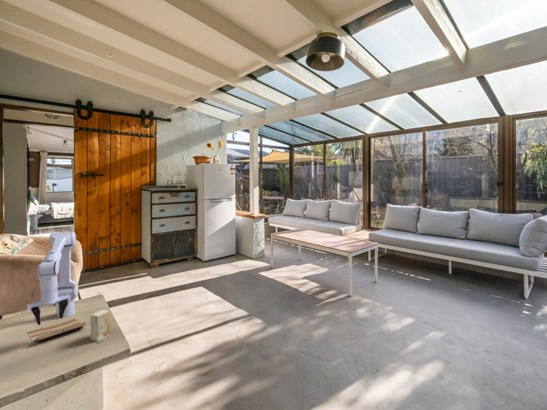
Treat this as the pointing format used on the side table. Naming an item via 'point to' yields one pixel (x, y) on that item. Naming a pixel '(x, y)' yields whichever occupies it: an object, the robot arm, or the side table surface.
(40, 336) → the plank
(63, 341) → the side table surface
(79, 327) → the plank
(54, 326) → the laid oak row
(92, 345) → the side table surface
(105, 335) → the skincare box
